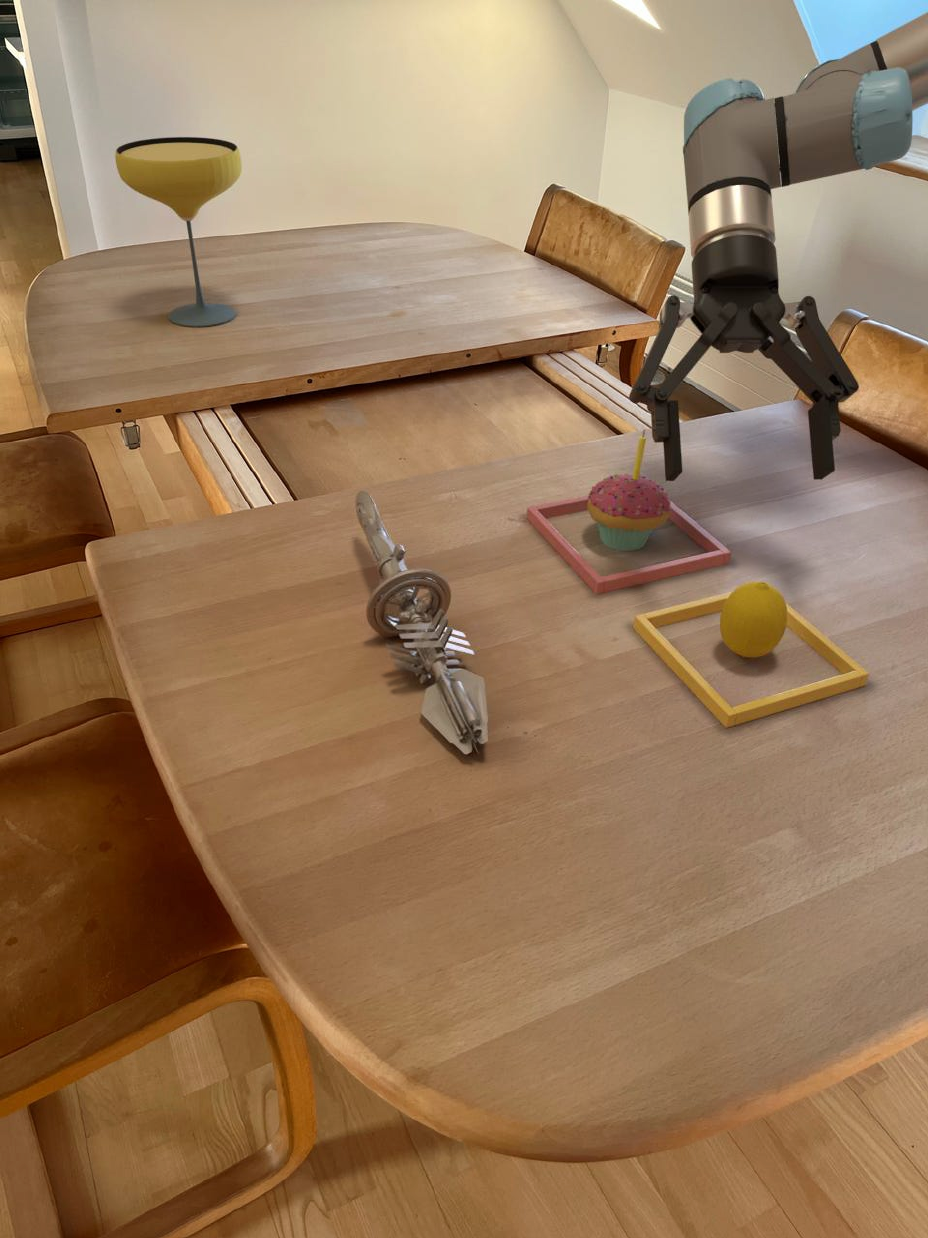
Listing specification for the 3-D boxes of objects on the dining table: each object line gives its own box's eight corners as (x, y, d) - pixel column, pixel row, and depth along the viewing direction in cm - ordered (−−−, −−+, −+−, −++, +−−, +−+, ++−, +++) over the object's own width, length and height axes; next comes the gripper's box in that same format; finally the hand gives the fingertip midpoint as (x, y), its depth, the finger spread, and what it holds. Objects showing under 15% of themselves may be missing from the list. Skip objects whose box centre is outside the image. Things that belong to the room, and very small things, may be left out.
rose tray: (647, 498, 108) (649, 483, 107) (727, 568, 97) (731, 552, 96) (526, 523, 103) (527, 507, 102) (595, 599, 92) (598, 582, 90)
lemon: (706, 664, 83) (723, 590, 78) (720, 631, 87) (737, 558, 82) (769, 683, 81) (790, 608, 77) (780, 647, 85) (801, 575, 81)
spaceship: (406, 469, 96) (334, 453, 91) (541, 714, 72) (453, 708, 68) (377, 531, 100) (308, 519, 96) (497, 783, 76) (411, 781, 72)
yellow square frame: (759, 600, 92) (763, 583, 91) (863, 691, 82) (869, 673, 80) (631, 632, 87) (634, 615, 86) (724, 733, 77) (729, 715, 76)
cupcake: (596, 513, 104) (609, 412, 97) (671, 530, 102) (690, 428, 94) (573, 551, 98) (585, 446, 90) (653, 570, 95) (672, 464, 88)
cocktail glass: (267, 298, 161) (251, 138, 146) (245, 337, 147) (223, 163, 131) (163, 295, 161) (135, 134, 146) (130, 333, 147) (95, 159, 132)
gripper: (846, 273, 90) (865, 486, 87) (591, 273, 89) (601, 489, 86) (884, 230, 83) (907, 461, 80) (607, 229, 82) (619, 463, 79)
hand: (749, 476), depth 83 cm, fingers open, 13 cm apart
